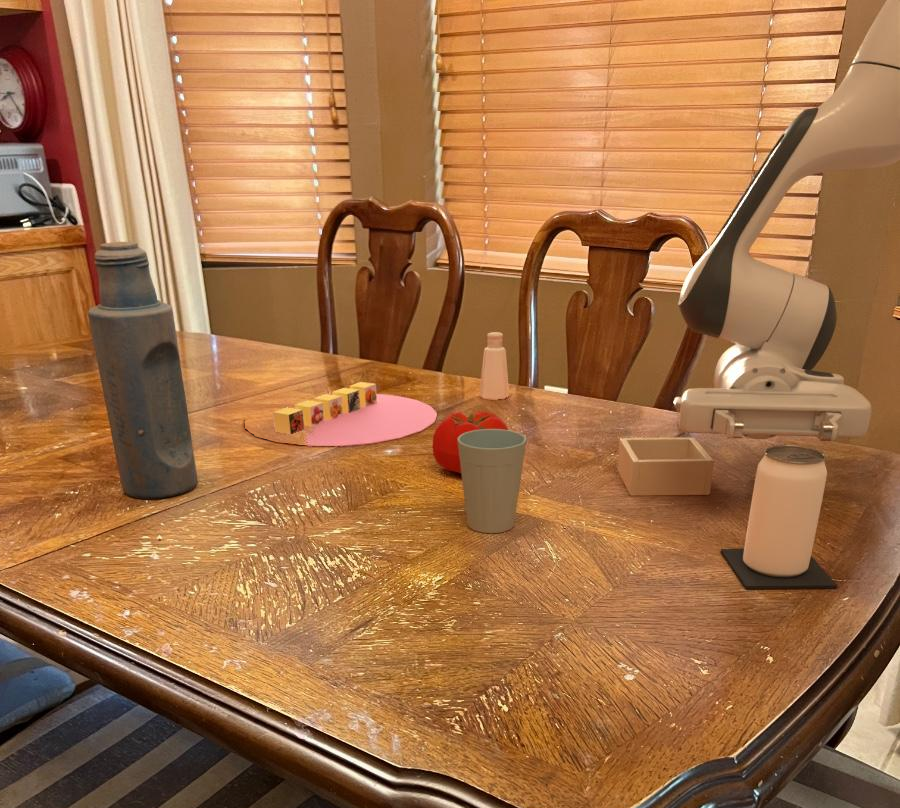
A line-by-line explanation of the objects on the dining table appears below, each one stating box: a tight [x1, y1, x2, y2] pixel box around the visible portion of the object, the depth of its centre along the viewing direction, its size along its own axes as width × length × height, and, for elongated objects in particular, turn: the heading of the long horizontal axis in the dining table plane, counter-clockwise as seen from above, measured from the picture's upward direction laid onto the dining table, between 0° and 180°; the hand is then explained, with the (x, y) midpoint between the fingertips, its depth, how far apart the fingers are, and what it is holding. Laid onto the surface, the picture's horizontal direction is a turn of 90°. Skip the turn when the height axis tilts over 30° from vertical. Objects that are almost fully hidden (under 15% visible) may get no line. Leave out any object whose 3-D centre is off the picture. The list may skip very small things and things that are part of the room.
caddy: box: [616, 436, 715, 497], centre depth 112 cm, size 10×10×4 cm
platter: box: [273, 381, 438, 448], centre depth 142 cm, size 32×32×3 cm
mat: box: [720, 548, 838, 590], centre depth 89 cm, size 9×9×1 cm
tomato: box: [432, 410, 509, 475], centre depth 117 cm, size 11×11×8 cm
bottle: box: [87, 241, 199, 500], centre depth 107 cm, size 10×10×30 cm
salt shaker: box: [478, 331, 510, 401], centre depth 151 cm, size 5×5×11 cm
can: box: [743, 444, 828, 578], centre depth 86 cm, size 6×6×12 cm
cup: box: [458, 429, 527, 534], centre depth 98 cm, size 8×8×10 cm
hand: (782, 432), depth 90 cm, fingers open, 8 cm apart
